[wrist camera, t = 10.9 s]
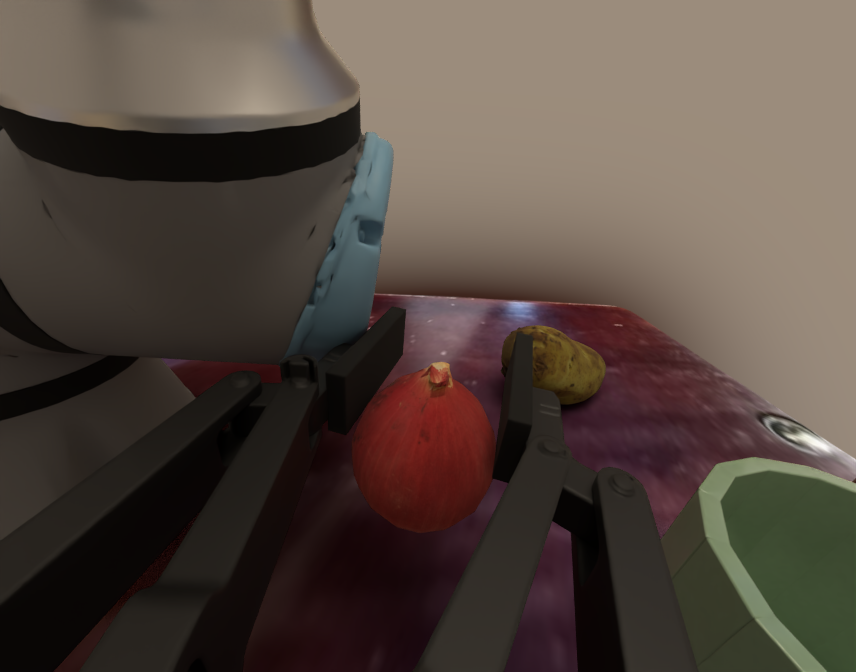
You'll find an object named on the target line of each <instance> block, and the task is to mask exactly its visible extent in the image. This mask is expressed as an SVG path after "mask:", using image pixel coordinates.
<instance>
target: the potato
mask: <svg viewBox="0 0 856 672" xmlns="http://www.w3.org/2000/svg"><path fill="white" fill-rule="evenodd" d="M517 332H518V333H523V334H527V335H532V336H533V387H536V388H540V389H544V390H549V391H553V392H554V393H555V394H556V396H557V397H558V399H559V400H560V404H567V405H568V404H574V403H578V402H581V401H584V400H586V399H588V398H590V397H591V396H592V395H594V394H595V393H596V392H597V391H598V390H599V388H600V386H601V384H602V381H603V378H604V375H605V371H606V367H605V363H604V361H603V359H602V357H601V356H600V355H599V354H598V353H597V352H596V351H594V350H593V349H591V348H590V347H588V346H586V345H583V344H581V343H579V342H576V341H573V340H571V339H570V338H568V337H567V336H566V335H565V334H563V333H562V332H560V331H558V330H556V329H553V328H550V327H546V326H526V327H523V328H518V329H517V330H515V331H512V332H511V334H510V335H509V336H507V338H506V339H505V341H504V345H503V349H502V365H503V367H502V369H501V373H502V374H503V375H504V377H505V378H506V374H507V370H508V366H509V362H510V358H511V354H512V350H513V346H514V342H515V338H516V334H517Z"/></svg>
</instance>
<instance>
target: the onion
mask: <svg viewBox="0 0 856 672" xmlns="http://www.w3.org/2000/svg"><path fill="white" fill-rule="evenodd" d="M495 449H496V442H495V436H494V431H493V429H492V427H491V425H490V423H489V421H488V418H487V416H486V414H485V411H484V409H483V407H482V405H481V404H480V402H479V400H478V399H477V398H476V397H475V396H474V395H473V394H472V393H471V392H470V391H469V390H468V389H467V388H465V387H464V386H463V385H462V384H461V383H459V382H457V381H456V380H454V379H452V377H451V373H450V370H449V364H448V363H445V362H438V363H432V364H431V365H430V366H429V367H428V368H425V369H422V370H420V371H418V372H415V373H411V374H408V375H405V376H402V377H400V378H398V379H396V380H395V381H394V382H392V383H391V384H390V385H389V386H387V387H386V388H385V389H383V390H382V391H381V392H379V393H378V394H377V395H375V396H374V397H373V398H372V399H371V401H370V402H369V403H368V404H367V407H366V409H365V411H364V413H363V415H362V418H361V420H360V422H359V424H358V426H357V428H356V430H355V433H354V435H353V440H352V449H351V450H352V460H353V470H354V476H355V479H356V481H357V484H358V487H359V489H360V490H361V492H362V494H363V495H364V497H365V499H366V500H367V502H368V504H369V506H370V507H371V509H373V510H374V511H376V512H377V513H378V514H380V515H381V516H382V517H384V518H385V519H386V520H388V521H389V522H390V523H392V524H393V525H395V526H396V527H399V528H403V529H406V530H410V531H414V532H418V533H423V532H431V531H439V530H445V529H447V528H449V527H451V526H453V525H454V524H456V523H457V522H459V521H461V520H462V519H464V518H465V517H467V516H468V515H470V514H472V513H473V512H475V510H476V509H477V507H478V505H479V504H480V502H481V500H482V499H483V497H484V495H485V494H486V492H487V490H488V488H489V486H490V484H491V482H492V480H493V478H492V474H493V466H494V459H495Z"/></svg>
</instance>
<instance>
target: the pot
mask: <svg viewBox="0 0 856 672" xmlns="http://www.w3.org/2000/svg"><path fill="white" fill-rule="evenodd" d="M660 541H661V544H662V547H663V551H664V554H665V558H666V561H667V565H668V568H669V572H670V575H671V578H672V582H673V585H674V589H675V592H676V596H677V599H678V603H679V606H680V609H681V613H682V616H683V620H684V623H685V627H686V630H687V634H688V637H689V640H690V644H691V647H692V651H693V654H694V658H695V661H696V665H697V668H698V671H699V672H856V483H853V482H850V481H848V480H845V479H842V478H839V477H837V476H834V475H831V474H828V473H826V472H823V471H820V470H817V469H815V468H812V467H808V466H804V465H798V464H792V463H786V462H781V461H775V460H769V459H763V458H758V457H751V458H746V459H740V460H735V461H729V462H723V463H718V464H716V465H715V466H714V467H713V469H712V470H711V471H710V473H709V474H708V476H707V477H706V478H705V480H704V481H703V482H702V484H701V485H700V486H699V488H698V489H697V491H696V492H695V493H694V495H693V496H692V497H691V499H690V500H689V502H688V503H687V504H686V506H685V507H684V508H683V510H682V511H681V512H680V514H679V515H678V517H677V518H676V519H675V521H674V522H673V523H672V525H671V526H670V528H669V529H668V530H667V532H666V533H665V534H664V536H663V537H662V538H661V540H660Z"/></svg>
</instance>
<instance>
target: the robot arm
mask: <svg viewBox="0 0 856 672" xmlns="http://www.w3.org/2000/svg"><path fill="white" fill-rule="evenodd" d="M392 167H393V148H392V146H391V144H390V143H389V142H388V141H386V140H384V139H381V138H379V137H378V136H377V134H376V133H374V132H366V133H365V135H362V133H361V129H360V91H359V84H358V81H357V79H356V77H355V76H354V75H353V73H352V72H351V71H350V70H349V68H348V67H347V66H346V64H345V63H344V62H343V60H342V59H341V58H340V57H339V55H338V54H337V53H336V51H335V50H334V49H333V48H332V46H331V45H330V44H329V42H328V41H327V40H326V38H325V37H324V36H323V34H322V33H321V32H320V30H319V27H318V24H317V21H316V17H315V14H314V11H313V7H312V0H0V672H53V671H54V670H55V669H56V668H57V667H58V666H59V665H60V664H61V663H62V662H63V661H64V659H65V658H66V657H67V656H68V655H69V654H70V653H71V652H72V651H73V650H74V648H75V647H76V646H77V645H78V644H79V643H80V642H81V641H82V640H83V639H84V637H85V636H86V635H87V634H88V633H89V632H90V631H91V630H92V629H93V628H94V627H95V625H96V624H97V623H98V622H99V621H100V620H101V619H102V618H103V617H104V616H105V614H106V613H107V612H108V611H109V610H110V609H111V608H112V607H113V606H114V605H115V603H116V602H117V601H118V600H119V599H120V598H121V597H122V596H123V595H124V594H125V593H126V591H127V590H128V589H129V588H130V587H131V586H132V585H133V584H134V583H135V582H136V580H137V579H138V578H139V577H140V576H141V575H142V574H143V573H144V572H145V571H146V569H147V568H148V567H149V566H150V565H151V564H152V563H153V562H154V561H155V560H156V559H157V557H158V556H159V555H160V554H161V553H162V552H163V551H164V550H165V549H166V548H167V546H168V545H169V544H170V543H171V542H172V541H173V540H174V539H175V538H176V537H177V535H178V534H179V533H180V532H181V531H182V530H183V529H184V528H185V527H186V526H187V525H188V523H189V522H190V521H191V520H192V519H193V518H194V517H195V516H196V515H197V514H198V512H199V511H200V510H201V509H202V508H203V509H202V511H201V512H200V514H199V515H198V517H197V519H196V520H195V522H194V524H193V525H192V527H191V528H190V530H189V532H188V533H187V535H186V536H185V538H184V540H183V541H182V543H181V544H180V546H179V548H178V549H177V551H176V552H175V554H174V556H173V557H172V559H171V561H170V562H169V564H168V565H167V567H166V569H165V570H164V572H163V573H162V575H161V576H160V578H159V579H158V580H157V582H156V583H155V584H154V585H152V586H151V587H149V588H145V589H142V590H139V591H138V592H136V593H135V594H134V595H133V596H132V597H130V598H129V599H128V601H127V602H126V603H125V604H124V606H123V607H122V608H121V610H120V611H119V612H118V614H117V615H116V617H115V618H114V620H113V621H112V623H111V624H110V626H109V627H108V629H107V630H106V632H105V633H104V635H103V636H102V638H101V639H100V641H99V642H98V644H97V645H96V647H95V648H94V650H93V651H92V653H91V654H90V656H89V657H88V659H87V660H86V662H85V663H84V665H83V666H82V668H81V669H80V671H79V672H242V671H243V663H244V655H245V650H246V646H247V643H248V640H249V637H250V634H251V631H252V629H253V626H254V623H255V620H256V617H257V615H258V612H259V609H260V606H261V603H262V601H263V598H264V595H265V592H266V590H267V587H268V584H269V581H270V578H271V576H272V573H273V570H274V567H275V565H276V562H277V559H278V556H279V553H280V551H281V548H282V545H283V542H284V539H285V537H286V534H287V531H288V528H289V526H290V523H291V520H292V517H293V514H294V512H295V509H296V506H297V503H298V500H299V498H300V495H301V492H302V489H303V487H304V484H305V481H306V478H307V475H308V473H309V470H310V467H311V464H312V461H313V459H314V456H315V453H316V450H317V448H318V445H319V442H320V439H321V436H322V425H323V424H324V423H325V422H326V421H327V419H328V430H330V431H333V432H336V433H340V434H343V435H347V433H348V432H349V430H350V429H351V427H352V426H353V425H354V423H355V422H356V420H357V419H358V417H359V416H360V415H361V413H362V412H363V410H364V409H365V408H366V406H367V404H368V403H369V402H370V400H371V399H372V398H373V396H374V395H375V393H376V392H377V390H378V389H379V388H380V386H381V385H382V383H383V382H384V380H385V379H386V378H387V376H388V375H389V373H390V372H391V370H392V369H393V368H394V366H395V365H396V363H397V362H398V360H399V359H400V358H401V356H402V355H403V343H404V330H405V316H406V309H402V308H397V307H391V308H390V309H389V310H388V311H387V312H386V313H385V314H384V315H383V316H382V317H381V318H380V319H379V320H378V321H377V322H376V323H375V324H374V325H373V326H372V327H371V328H370V329H369V330H368V331H367V328H368V323H369V319H370V314H371V308H372V303H373V297H374V291H375V284H376V279H377V273H378V266H379V259H380V252H381V238H382V235H383V230H384V223H385V216H386V212H387V206H388V200H389V193H390V185H391V177H392ZM161 358H168V359H185V360H203V361H221V362H238V363H256V364H273V365H279V366H280V369H281V377H282V382H281V383H261V377H260V375H259V374H258V373H256V372H253V371H238V372H235V373H231V374H229V375H228V376H226V377H224V378H223V379H221V380H220V381H219V382H217V383H216V384H214V385H213V386H212V387H210V388H209V389H208V390H206V391H205V392H204V393H202V394H201V395H199V396H198V397H197V398H195V397H194V396H193V394H192V393H191V392H190V391H189V390H188V388H186V387H185V386H184V385H183V383H182V382H181V381H180V380H179V378H178V377H177V376H176V375H175V374H174V373H173V372H172V370H171V369H170V368H169V367H168V366H167V365H166V364H165V362H164V361H163V360H162V359H161ZM560 410H561V407H560V400H559V399H558V397H557V396H556V394H555V393H554V392H553V391H549V390H544V389H540V388H536V387H533V336H532V335H527V334H523V333H518V332H517V334H516V338H515V342H514V346H513V350H512V354H511V358H510V362H509V366H508V370H507V374H506V378H505V385H504V392H503V400H502V407H501V414H500V422H499V429H498V437H497V444H496V452H495V459H494V466H493V474H492V478H493V479H497V480H500V481H503V482H507V483H508V485H507V487H506V489H505V491H504V493H503V495H502V497H501V499H500V501H499V503H498V505H497V507H496V509H495V511H494V513H493V515H492V517H491V519H490V521H489V523H488V525H487V527H486V529H485V531H484V533H483V535H482V537H481V539H480V541H479V543H478V545H477V547H476V549H475V551H474V553H473V555H472V557H471V559H470V561H469V563H468V565H467V567H466V569H465V571H464V573H463V575H462V577H461V579H460V581H459V583H458V585H457V587H456V589H455V591H454V593H453V595H452V597H451V599H450V601H449V603H448V604H447V606H446V608H445V610H444V612H443V614H442V616H441V618H440V620H439V622H438V624H437V626H436V628H435V630H434V632H433V634H432V636H431V638H430V640H429V642H428V644H427V646H426V648H425V650H424V652H423V654H422V656H421V658H420V660H419V662H418V664H417V665H416V667H415V669H414V670H413V671H412V672H504V669H505V666H506V663H507V660H508V657H509V654H510V651H511V647H512V644H513V641H514V638H515V635H516V632H517V629H518V626H519V622H520V619H521V616H522V613H523V610H524V607H525V604H526V601H527V597H528V594H529V591H530V588H531V585H532V582H533V579H534V576H535V572H536V569H537V566H538V563H539V560H540V557H541V554H542V551H543V547H544V544H545V541H546V538H547V535H548V532H549V529H550V525H551V522H552V521H553V522H555V523H557V524H558V525H560V526H561V527H563V528H565V529H566V530H568V531H570V532H571V541H572V561H573V581H574V601H575V621H576V641H577V661H578V672H699V671H698V668H697V665H696V661H695V658H694V654H693V651H692V647H691V644H690V640H689V637H688V634H687V630H686V627H685V623H684V620H683V616H682V613H681V609H680V606H679V603H678V599H677V596H676V592H675V589H674V585H673V582H672V578H671V575H670V572H669V568H668V565H667V561H666V558H665V554H664V551H663V547H662V544H661V541H660V537H659V534H658V530H657V527H656V523H655V520H654V516H653V513H652V510H651V506H650V503H649V499H648V496H647V493H646V491H645V489H644V487H643V485H642V484H641V483H640V482H639V481H638V480H637V479H636V478H635V477H633V476H632V475H630V474H629V473H628V472H625V471H623V470H621V469H618V468H613V467H607V468H602V469H601V470H600V471H599V472H598V473H597V472H595V471H593V470H591V469H589V468H588V467H586V466H584V465H582V464H581V463H579V462H578V461H576V460H575V459H574V458H573V457H572V453H571V451H570V449H569V447H568V446H567V445H566V444H565V442H564V433H563V425H562V418H561V411H560ZM228 423H229V427H228V428H227V429H226V430H224V431H222V428H223V427H224V426H225V425H226V424H228Z"/></svg>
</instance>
